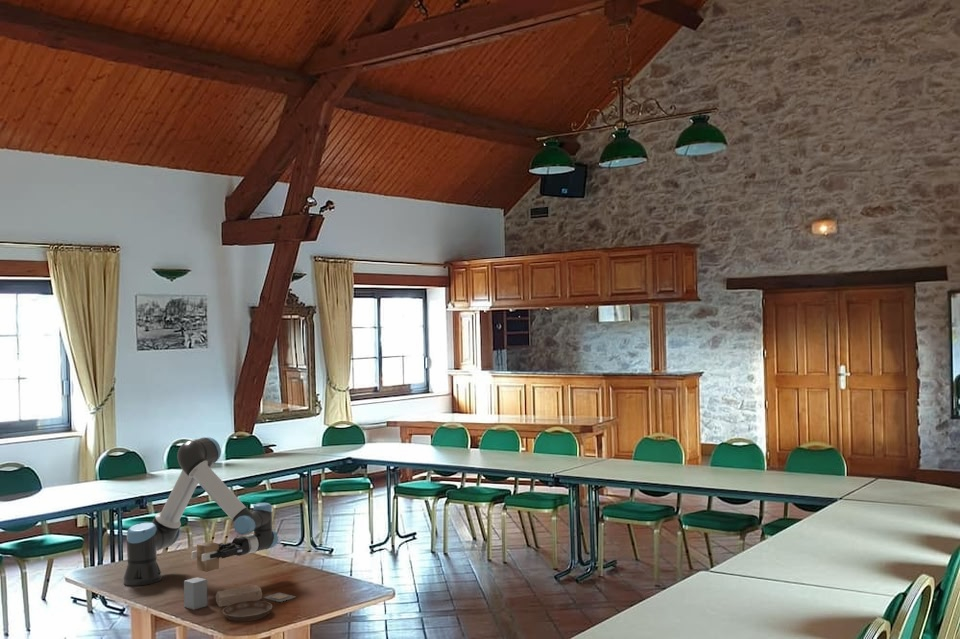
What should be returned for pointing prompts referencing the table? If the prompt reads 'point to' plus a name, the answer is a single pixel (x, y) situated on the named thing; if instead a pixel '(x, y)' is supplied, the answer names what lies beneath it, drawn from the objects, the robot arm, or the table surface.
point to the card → (279, 597)
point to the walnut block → (207, 564)
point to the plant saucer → (247, 610)
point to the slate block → (195, 593)
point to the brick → (238, 595)
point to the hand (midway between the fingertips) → (197, 556)
